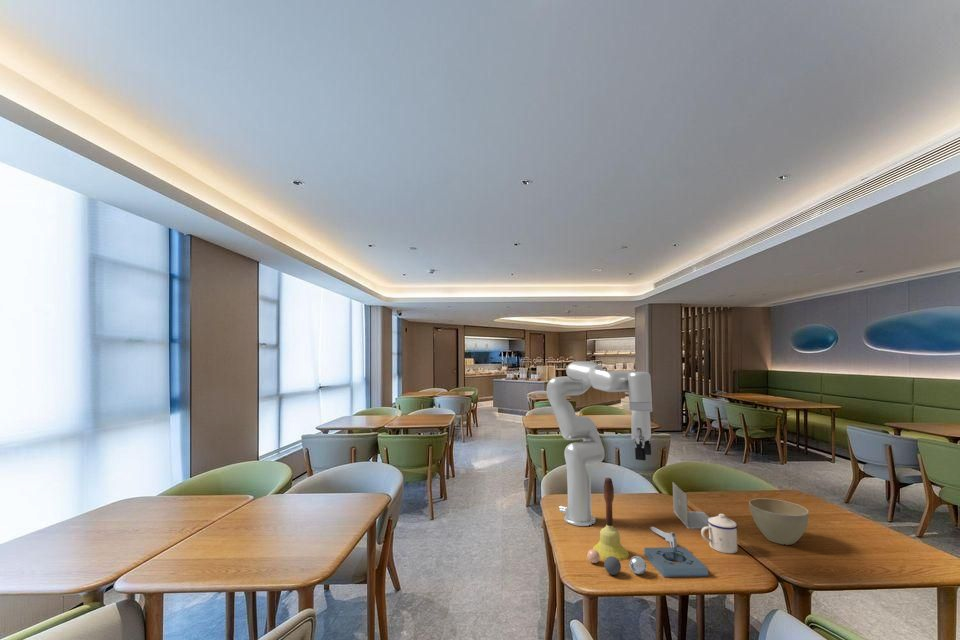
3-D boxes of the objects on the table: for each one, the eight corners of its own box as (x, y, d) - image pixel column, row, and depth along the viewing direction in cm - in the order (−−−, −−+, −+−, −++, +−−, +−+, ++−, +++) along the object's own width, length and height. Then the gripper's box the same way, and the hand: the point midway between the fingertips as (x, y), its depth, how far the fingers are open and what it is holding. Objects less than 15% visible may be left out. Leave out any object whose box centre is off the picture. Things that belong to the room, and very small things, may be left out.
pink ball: (585, 563, 137) (585, 550, 138) (589, 558, 141) (589, 546, 141) (597, 566, 135) (597, 553, 136) (601, 561, 138) (601, 549, 139)
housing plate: (663, 577, 129) (663, 568, 129) (644, 555, 143) (644, 547, 143) (708, 576, 129) (707, 567, 130) (684, 554, 143) (684, 547, 144)
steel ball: (627, 574, 130) (627, 557, 131) (631, 567, 135) (631, 551, 135) (644, 579, 128) (643, 562, 128) (648, 572, 132) (647, 555, 132)
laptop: (721, 531, 163) (719, 496, 164) (687, 529, 165) (686, 495, 166) (703, 513, 181) (702, 482, 182) (673, 512, 183) (672, 481, 184)
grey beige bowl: (802, 534, 159) (800, 502, 160) (817, 555, 143) (815, 518, 144) (747, 526, 167) (745, 495, 168) (755, 545, 150) (753, 510, 151)
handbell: (628, 563, 137) (626, 485, 139) (590, 557, 142) (588, 481, 144) (629, 547, 149) (627, 475, 151) (593, 542, 153) (592, 472, 155)
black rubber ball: (602, 574, 130) (601, 558, 131) (607, 568, 134) (606, 551, 135) (618, 579, 127) (618, 562, 128) (623, 572, 132) (622, 556, 132)
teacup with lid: (728, 542, 153) (727, 509, 154) (744, 554, 144) (742, 519, 145) (695, 542, 153) (694, 509, 154) (709, 554, 144) (707, 519, 145)
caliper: (677, 553, 145) (676, 534, 145) (674, 553, 145) (673, 534, 145) (652, 528, 165) (651, 512, 166) (649, 529, 165) (649, 512, 166)
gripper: (635, 404, 156) (637, 451, 154) (623, 408, 142) (626, 460, 140) (656, 405, 152) (659, 453, 150) (647, 409, 138) (650, 463, 136)
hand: (643, 457), depth 145 cm, fingers open, 9 cm apart
